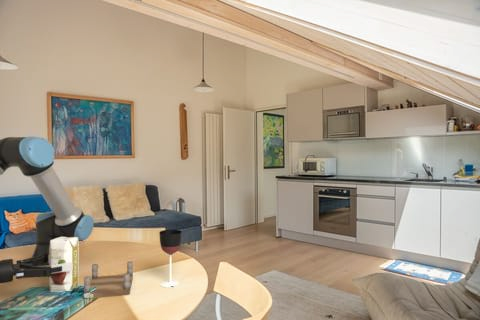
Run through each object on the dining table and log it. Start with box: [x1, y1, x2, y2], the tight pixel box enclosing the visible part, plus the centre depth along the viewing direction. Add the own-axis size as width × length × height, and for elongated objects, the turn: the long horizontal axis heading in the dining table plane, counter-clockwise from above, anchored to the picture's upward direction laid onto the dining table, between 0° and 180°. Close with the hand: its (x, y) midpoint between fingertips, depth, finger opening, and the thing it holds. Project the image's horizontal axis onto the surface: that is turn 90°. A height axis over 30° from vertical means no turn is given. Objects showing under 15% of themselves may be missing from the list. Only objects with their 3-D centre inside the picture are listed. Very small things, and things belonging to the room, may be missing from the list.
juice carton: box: [48, 237, 80, 292], centre depth 119 cm, size 8×9×19 cm
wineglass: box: [159, 229, 182, 288], centre depth 125 cm, size 8×9×20 cm
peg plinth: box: [83, 260, 134, 299], centre depth 121 cm, size 16×15×7 cm
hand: (70, 261), depth 120 cm, fingers open, 13 cm apart
